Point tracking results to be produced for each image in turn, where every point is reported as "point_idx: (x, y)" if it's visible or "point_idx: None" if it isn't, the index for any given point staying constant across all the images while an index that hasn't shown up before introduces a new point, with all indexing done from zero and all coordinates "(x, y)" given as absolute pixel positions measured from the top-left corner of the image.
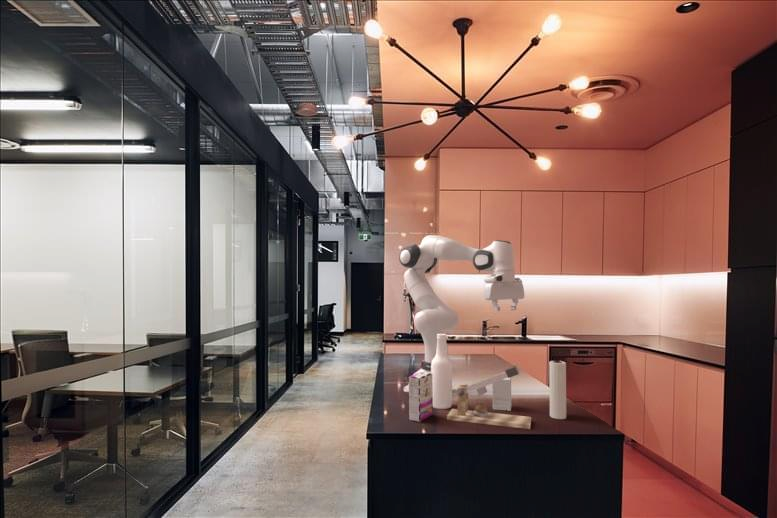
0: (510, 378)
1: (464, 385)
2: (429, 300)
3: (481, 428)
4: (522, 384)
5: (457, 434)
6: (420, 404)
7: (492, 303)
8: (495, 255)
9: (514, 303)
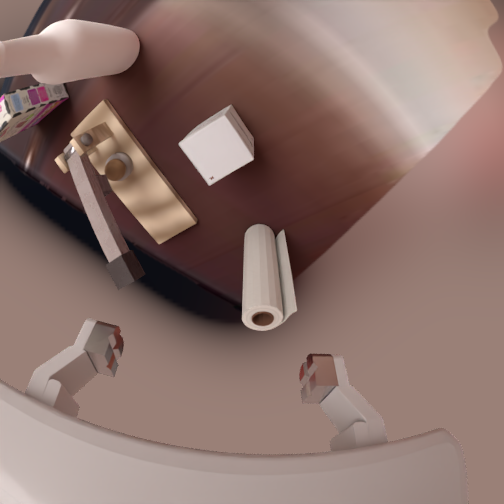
0: (227, 174)
1: (77, 150)
2: None
3: None
4: (457, 69)
5: (56, 195)
6: (19, 131)
7: (42, 367)
8: None
9: (342, 415)
